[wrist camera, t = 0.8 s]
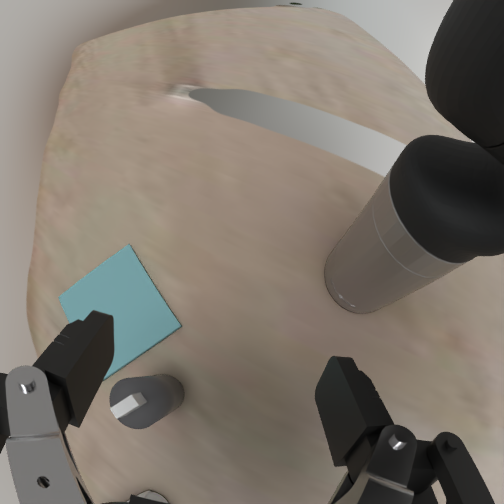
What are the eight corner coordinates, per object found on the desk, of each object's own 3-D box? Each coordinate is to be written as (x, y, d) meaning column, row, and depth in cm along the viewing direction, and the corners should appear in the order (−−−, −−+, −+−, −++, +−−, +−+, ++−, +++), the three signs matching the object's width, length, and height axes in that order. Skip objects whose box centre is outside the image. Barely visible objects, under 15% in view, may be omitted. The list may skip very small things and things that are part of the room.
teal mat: (130, 245, 34) (129, 243, 33) (182, 326, 31) (180, 325, 30) (60, 298, 31) (58, 297, 30) (102, 381, 27) (100, 381, 27)
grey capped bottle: (169, 367, 29) (128, 367, 18) (191, 398, 28) (163, 417, 16) (140, 386, 28) (88, 395, 17) (162, 417, 27) (120, 443, 15)
